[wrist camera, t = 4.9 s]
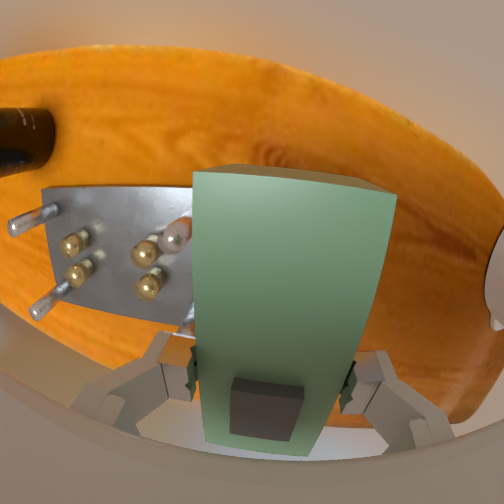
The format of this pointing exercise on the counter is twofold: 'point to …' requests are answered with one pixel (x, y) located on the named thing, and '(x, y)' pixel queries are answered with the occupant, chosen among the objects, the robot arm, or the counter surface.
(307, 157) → the counter surface
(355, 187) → the green rectangular block
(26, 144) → the supplement bottle
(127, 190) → the chassis
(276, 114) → the counter surface
